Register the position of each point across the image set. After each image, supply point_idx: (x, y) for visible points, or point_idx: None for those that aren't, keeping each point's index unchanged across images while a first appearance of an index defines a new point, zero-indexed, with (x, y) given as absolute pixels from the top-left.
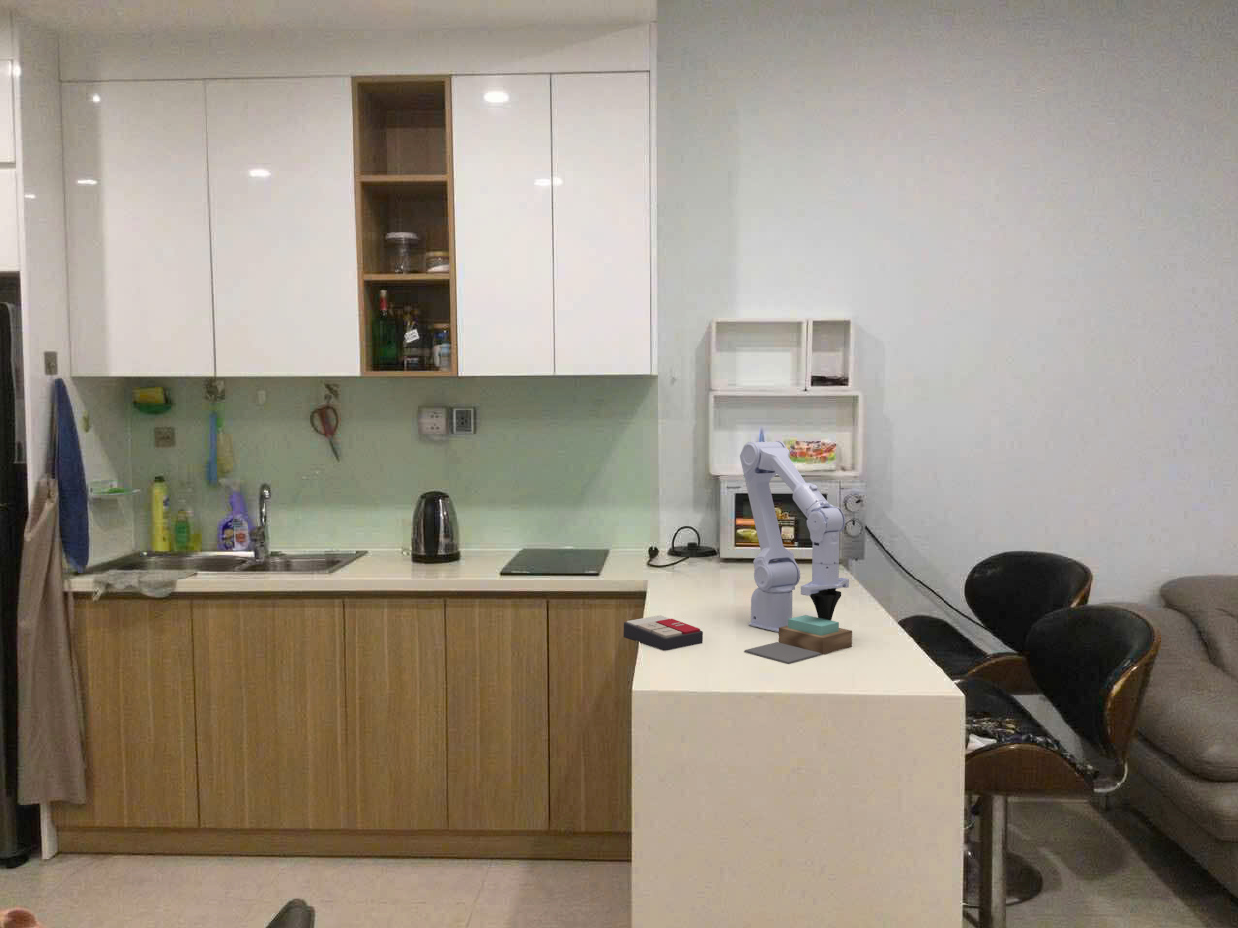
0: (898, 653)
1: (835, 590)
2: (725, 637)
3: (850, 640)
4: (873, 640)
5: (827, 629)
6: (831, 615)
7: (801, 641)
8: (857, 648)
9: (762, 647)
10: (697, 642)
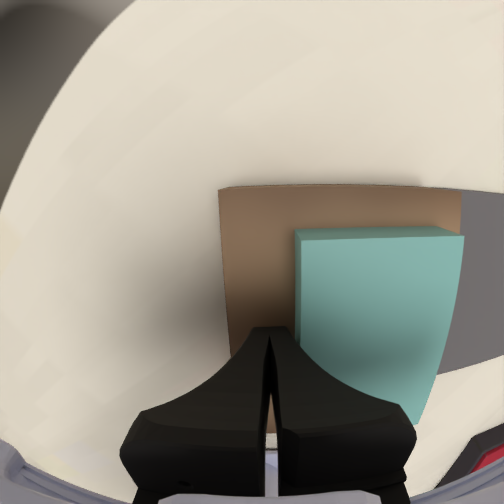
0: (168, 22)
1: (143, 492)
2: (415, 457)
3: (237, 187)
4: (85, 204)
5: (405, 231)
6: (254, 345)
7: None
8: (233, 152)
9: (477, 352)
10: (485, 433)
